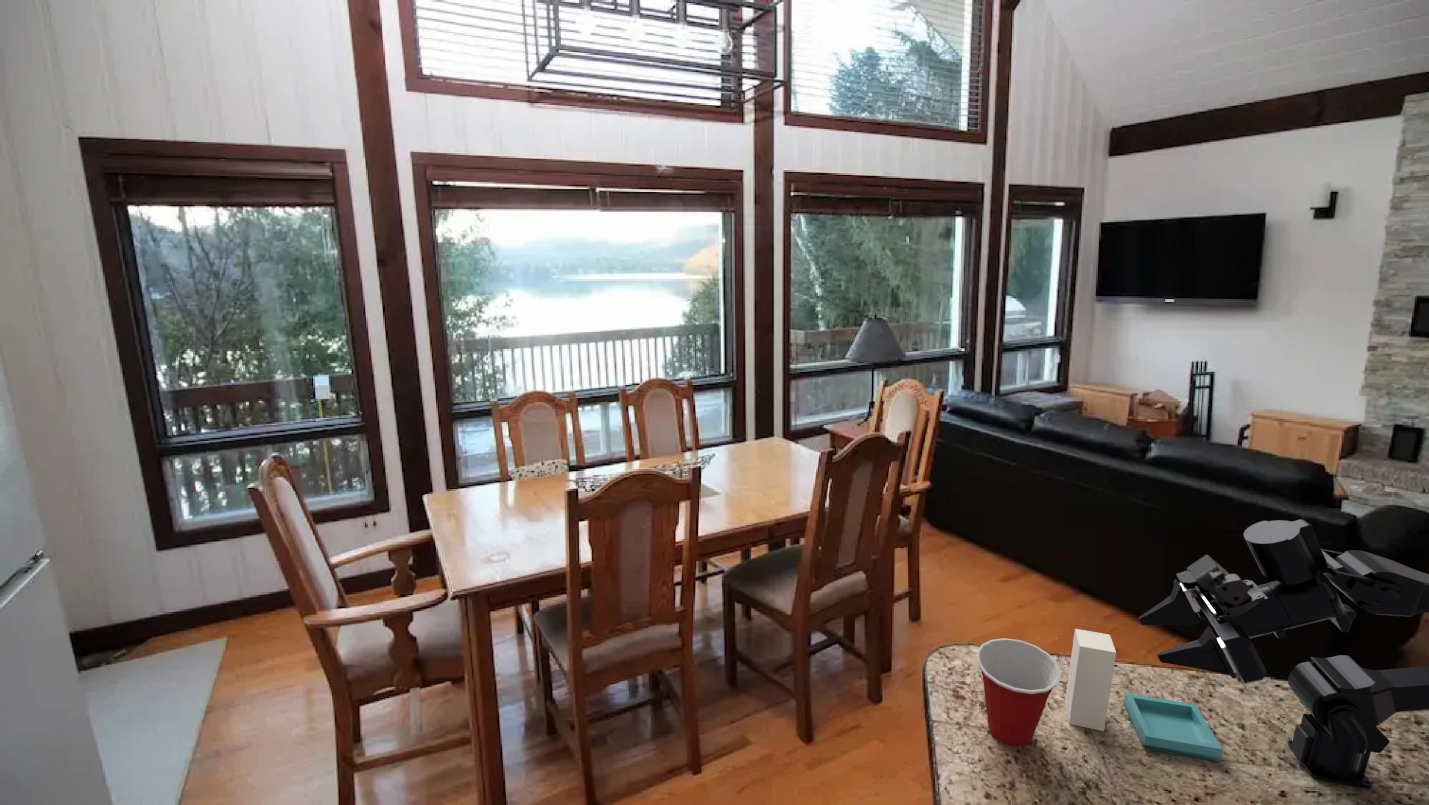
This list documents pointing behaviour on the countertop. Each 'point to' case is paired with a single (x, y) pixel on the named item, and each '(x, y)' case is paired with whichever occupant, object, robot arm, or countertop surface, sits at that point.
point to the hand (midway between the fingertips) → (1148, 639)
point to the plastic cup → (1015, 687)
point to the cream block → (1090, 679)
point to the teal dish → (1172, 727)
